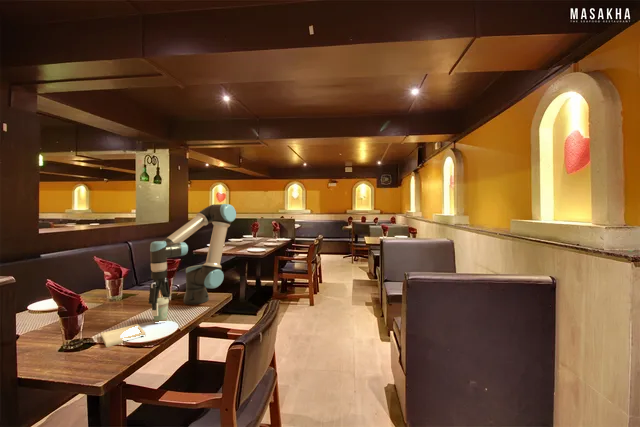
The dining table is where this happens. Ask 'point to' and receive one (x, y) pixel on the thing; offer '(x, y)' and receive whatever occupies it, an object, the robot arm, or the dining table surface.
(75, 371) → the dining table surface
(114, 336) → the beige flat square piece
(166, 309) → the coffee cup
